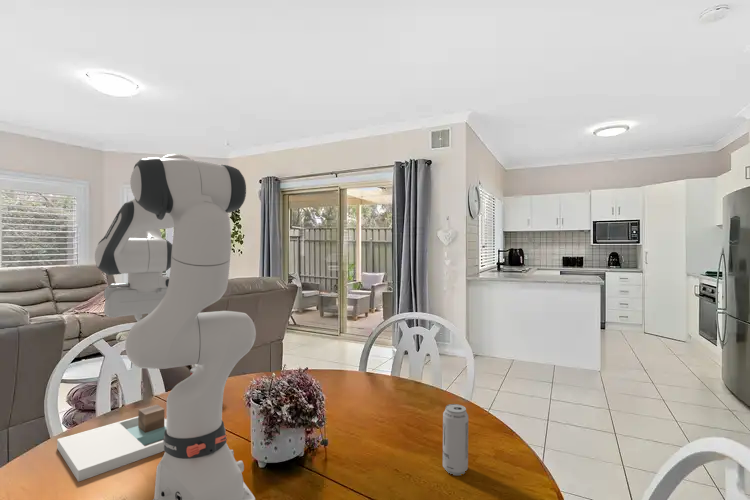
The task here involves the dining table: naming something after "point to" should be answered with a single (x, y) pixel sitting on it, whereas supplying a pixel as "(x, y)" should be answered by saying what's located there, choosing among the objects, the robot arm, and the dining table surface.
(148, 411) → the walnut block
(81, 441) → the board
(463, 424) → the energy drink can
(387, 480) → the dining table surface
